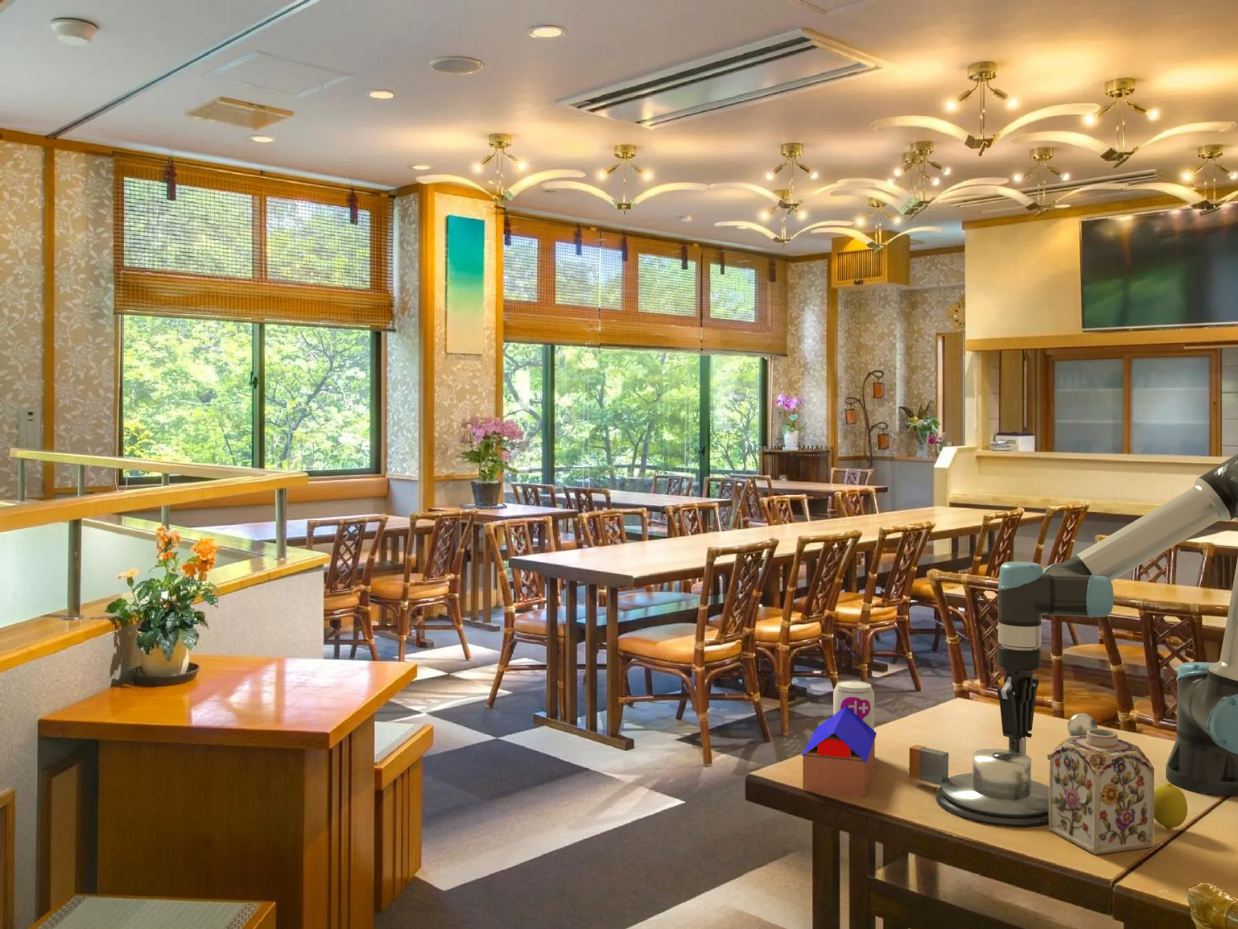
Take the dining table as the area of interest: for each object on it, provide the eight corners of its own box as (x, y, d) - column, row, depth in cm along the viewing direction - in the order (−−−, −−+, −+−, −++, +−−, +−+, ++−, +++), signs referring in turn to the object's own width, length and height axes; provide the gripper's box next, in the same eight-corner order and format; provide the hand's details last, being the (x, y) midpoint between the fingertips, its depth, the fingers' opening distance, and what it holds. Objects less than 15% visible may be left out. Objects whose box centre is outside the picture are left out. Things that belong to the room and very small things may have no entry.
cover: (1039, 789, 195) (1040, 754, 195) (1017, 803, 188) (1017, 767, 188) (986, 777, 202) (987, 743, 202) (962, 790, 195) (963, 755, 194)
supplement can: (874, 764, 217) (875, 690, 217) (832, 761, 219) (833, 687, 219) (872, 752, 225) (873, 681, 225) (832, 750, 227) (833, 679, 227)
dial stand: (1091, 797, 198) (1092, 711, 197) (1099, 805, 194) (1100, 717, 193) (1043, 796, 198) (1045, 710, 198) (1051, 804, 194) (1052, 716, 194)
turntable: (1076, 796, 195) (1077, 765, 194) (1031, 826, 180) (1031, 792, 180) (937, 764, 213) (937, 735, 213) (885, 789, 199) (886, 757, 199)
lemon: (1143, 824, 185) (1144, 778, 184) (1174, 823, 185) (1175, 777, 185) (1162, 837, 179) (1163, 789, 179) (1194, 835, 180) (1195, 788, 179)
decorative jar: (1155, 848, 174) (1157, 738, 174) (1095, 857, 171) (1097, 745, 170) (1103, 822, 186) (1104, 719, 185) (1045, 830, 182) (1047, 724, 182)
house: (876, 765, 217) (876, 708, 217) (866, 798, 198) (866, 735, 198) (816, 759, 221) (816, 703, 220) (800, 791, 202) (801, 729, 202)
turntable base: (1084, 804, 195) (1084, 798, 195) (1034, 837, 179) (1034, 831, 179) (969, 776, 210) (969, 771, 210) (913, 805, 194) (913, 799, 194)
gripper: (1014, 638, 206) (1012, 759, 207) (983, 648, 197) (981, 775, 198) (1053, 643, 201) (1051, 768, 202) (1023, 654, 192) (1021, 785, 193)
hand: (1016, 771), depth 200 cm, fingers closed
